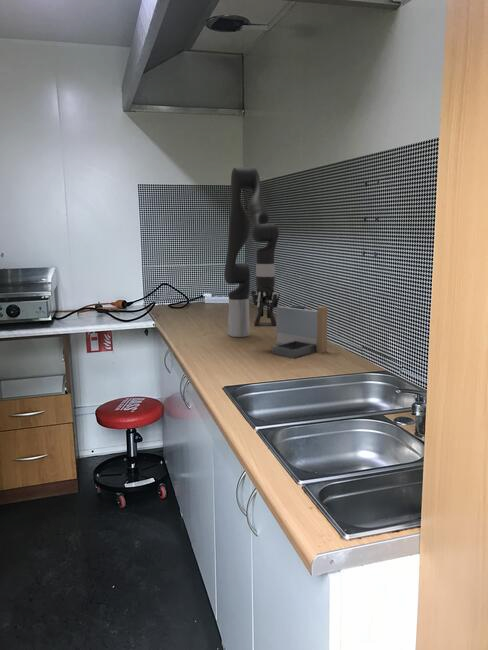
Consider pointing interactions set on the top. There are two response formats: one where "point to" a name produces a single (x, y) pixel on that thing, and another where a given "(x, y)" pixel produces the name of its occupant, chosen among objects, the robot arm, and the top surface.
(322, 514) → the top surface
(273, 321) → the door stopper
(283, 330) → the door
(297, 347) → the keeper
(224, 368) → the top surface
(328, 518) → the top surface
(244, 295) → the robot arm
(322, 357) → the top surface
